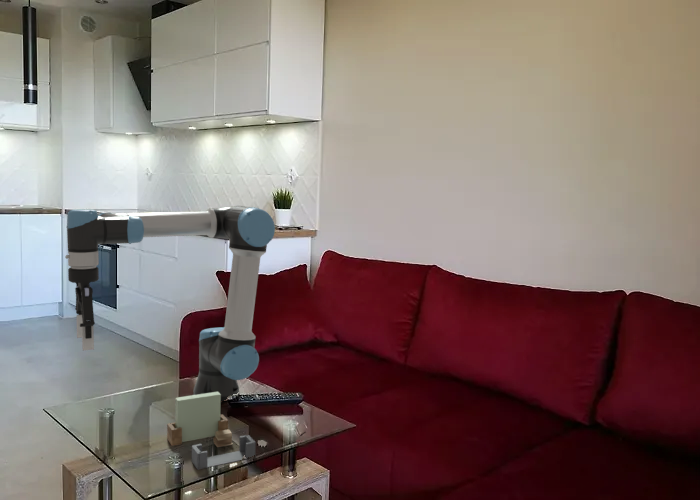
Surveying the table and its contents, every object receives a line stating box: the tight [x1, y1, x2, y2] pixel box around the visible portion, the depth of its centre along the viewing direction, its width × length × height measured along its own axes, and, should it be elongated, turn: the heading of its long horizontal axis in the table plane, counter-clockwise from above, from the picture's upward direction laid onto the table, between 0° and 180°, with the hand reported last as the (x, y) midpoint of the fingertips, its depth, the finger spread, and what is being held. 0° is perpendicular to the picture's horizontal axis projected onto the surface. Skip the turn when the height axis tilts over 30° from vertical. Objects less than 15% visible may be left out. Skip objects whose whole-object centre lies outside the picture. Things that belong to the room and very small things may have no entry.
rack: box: [166, 414, 229, 447], centre depth 170 cm, size 16×5×5 cm, turn 121°
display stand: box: [191, 434, 256, 470], centre depth 158 cm, size 15×5×5 cm, turn 121°
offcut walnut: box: [213, 436, 233, 448], centre depth 167 cm, size 4×3×2 cm
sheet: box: [174, 392, 222, 443], centre depth 170 cm, size 12×2×12 cm, turn 121°
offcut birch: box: [214, 442, 234, 448], centre depth 167 cm, size 4×3×2 cm
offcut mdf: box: [214, 428, 233, 441], centre depth 167 cm, size 4×3×2 cm
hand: (85, 343), depth 167 cm, fingers open, 13 cm apart
